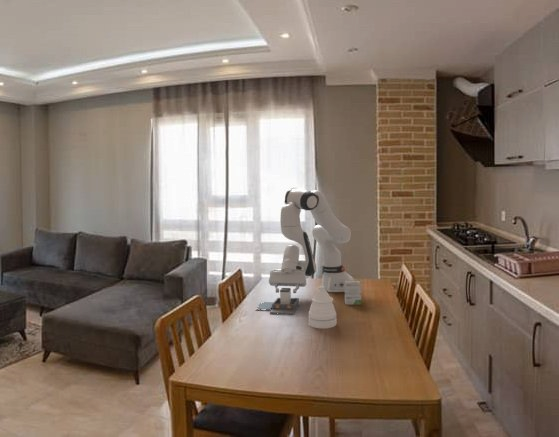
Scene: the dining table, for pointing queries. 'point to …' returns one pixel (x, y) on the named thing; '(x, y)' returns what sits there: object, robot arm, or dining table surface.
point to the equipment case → (285, 306)
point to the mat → (265, 305)
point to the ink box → (353, 292)
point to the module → (285, 295)
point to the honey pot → (322, 310)
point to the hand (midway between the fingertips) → (285, 292)
